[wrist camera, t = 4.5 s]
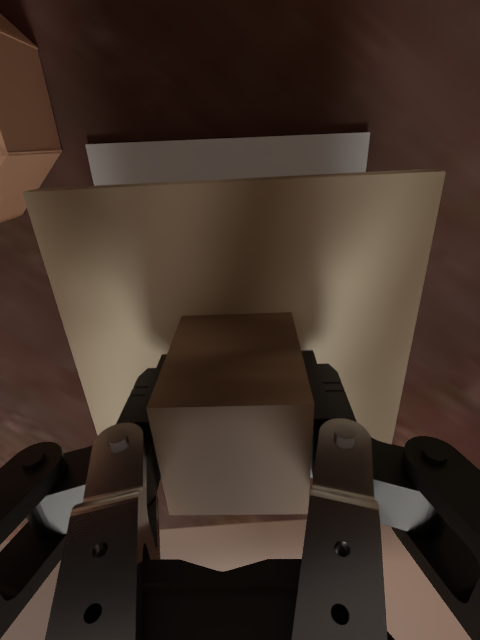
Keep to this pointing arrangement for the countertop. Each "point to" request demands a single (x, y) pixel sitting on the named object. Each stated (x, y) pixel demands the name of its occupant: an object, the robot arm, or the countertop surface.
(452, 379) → the countertop surface
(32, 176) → the bowl
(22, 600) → the robot arm
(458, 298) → the countertop surface
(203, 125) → the countertop surface
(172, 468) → the lid
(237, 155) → the mat
